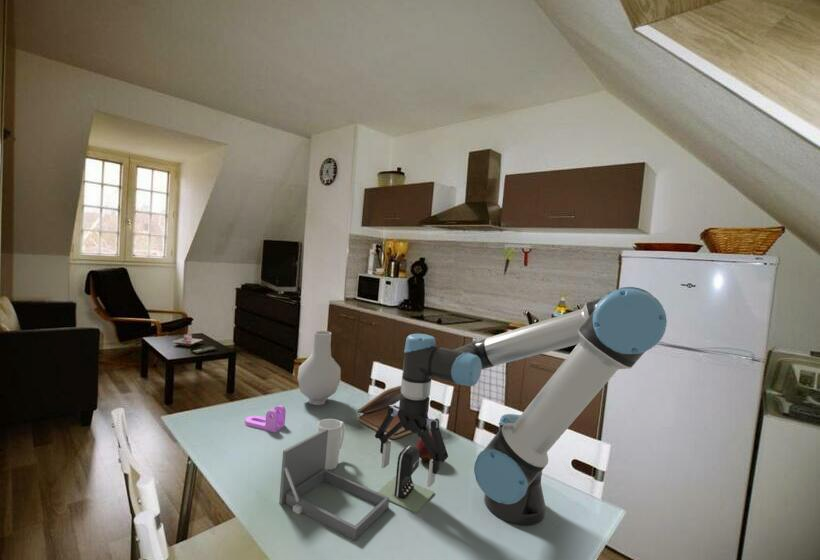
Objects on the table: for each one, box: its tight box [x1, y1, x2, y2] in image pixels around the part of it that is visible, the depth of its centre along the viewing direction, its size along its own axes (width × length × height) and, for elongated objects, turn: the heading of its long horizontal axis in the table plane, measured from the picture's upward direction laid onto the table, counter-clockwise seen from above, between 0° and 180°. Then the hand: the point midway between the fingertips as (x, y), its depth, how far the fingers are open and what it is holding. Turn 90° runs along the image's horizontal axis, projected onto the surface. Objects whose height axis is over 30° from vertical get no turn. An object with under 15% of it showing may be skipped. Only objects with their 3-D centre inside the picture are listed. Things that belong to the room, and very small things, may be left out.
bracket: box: [244, 404, 287, 433], centre depth 134 cm, size 13×6×7 cm, turn 74°
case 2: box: [356, 385, 429, 440], centre depth 145 cm, size 20×21×16 cm
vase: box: [297, 330, 342, 406], centre depth 157 cm, size 17×16×28 cm
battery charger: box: [395, 445, 420, 498], centre depth 103 cm, size 7×4×11 cm, turn 156°
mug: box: [316, 418, 346, 471], centre depth 114 cm, size 10×7×12 cm, turn 149°
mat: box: [377, 475, 435, 514], centre depth 103 cm, size 12×10×1 cm
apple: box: [415, 433, 434, 462], centre depth 121 cm, size 7×8×8 cm
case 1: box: [278, 429, 390, 541], centre depth 96 cm, size 22×15×13 cm
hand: (407, 474), depth 103 cm, fingers open, 13 cm apart
